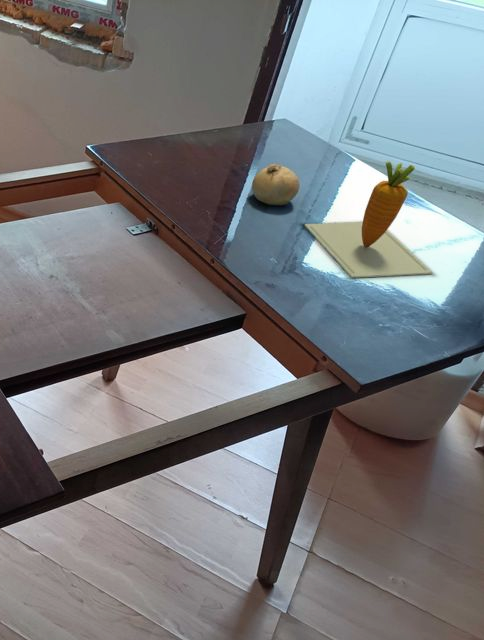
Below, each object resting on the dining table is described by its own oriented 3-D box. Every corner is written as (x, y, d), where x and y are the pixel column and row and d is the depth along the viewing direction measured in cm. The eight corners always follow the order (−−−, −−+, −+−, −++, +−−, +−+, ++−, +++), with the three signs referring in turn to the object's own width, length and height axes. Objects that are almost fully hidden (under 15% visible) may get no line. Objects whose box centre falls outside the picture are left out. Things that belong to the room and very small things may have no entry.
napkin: (431, 273, 109) (432, 272, 109) (351, 278, 107) (352, 276, 107) (376, 222, 121) (377, 221, 121) (303, 225, 119) (304, 223, 119)
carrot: (343, 242, 115) (378, 157, 105) (365, 237, 116) (402, 153, 107) (365, 257, 111) (404, 172, 102) (388, 252, 113) (428, 167, 103)
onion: (262, 186, 130) (273, 150, 125) (301, 201, 126) (313, 165, 121) (240, 199, 125) (251, 163, 120) (280, 216, 121) (292, 179, 116)
